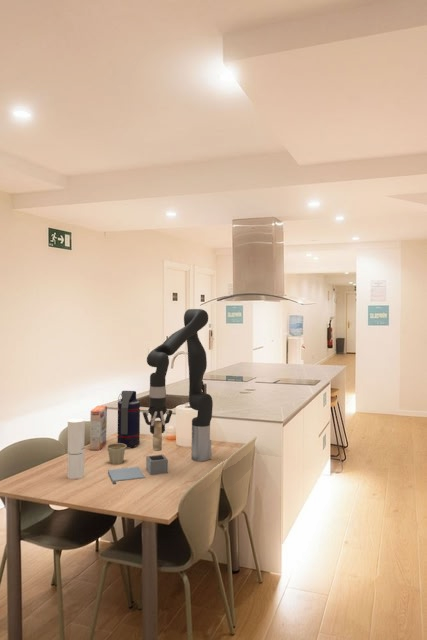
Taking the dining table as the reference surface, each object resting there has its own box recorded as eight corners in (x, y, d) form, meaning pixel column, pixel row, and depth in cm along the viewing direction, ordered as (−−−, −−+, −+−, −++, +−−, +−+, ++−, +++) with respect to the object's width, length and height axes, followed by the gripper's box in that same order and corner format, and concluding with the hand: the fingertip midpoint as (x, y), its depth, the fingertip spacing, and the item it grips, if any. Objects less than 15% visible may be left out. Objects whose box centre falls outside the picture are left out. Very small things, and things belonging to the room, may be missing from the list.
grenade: (121, 441, 267) (122, 388, 266) (142, 443, 265) (142, 389, 264) (113, 449, 253) (113, 392, 252) (134, 450, 251) (135, 393, 250)
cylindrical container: (87, 474, 214) (87, 419, 214) (77, 479, 208) (78, 422, 207) (73, 472, 217) (74, 417, 216) (63, 477, 210) (64, 421, 209)
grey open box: (162, 469, 223) (163, 454, 223) (167, 474, 215) (167, 459, 215) (146, 471, 220) (146, 456, 220) (150, 477, 212) (150, 461, 212)
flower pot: (121, 467, 224) (122, 449, 224) (103, 466, 226) (103, 448, 226) (129, 461, 233) (129, 443, 233) (111, 459, 235) (111, 442, 235)
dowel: (160, 448, 220) (160, 420, 220) (162, 450, 216) (162, 422, 216) (151, 449, 219) (152, 420, 218) (154, 451, 215) (154, 422, 214)
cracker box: (100, 450, 250) (101, 411, 250) (89, 450, 250) (89, 410, 250) (107, 442, 264) (107, 405, 264) (96, 442, 264) (96, 405, 264)
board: (138, 469, 222) (138, 466, 222) (145, 480, 209) (145, 476, 209) (107, 473, 216) (107, 469, 216) (113, 484, 203) (113, 480, 203)
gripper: (170, 393, 223) (170, 429, 223) (140, 395, 217) (140, 432, 218) (175, 396, 216) (174, 433, 216) (144, 398, 211) (143, 436, 211)
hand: (157, 432), depth 217 cm, fingers closed on dowel, 4 cm apart
